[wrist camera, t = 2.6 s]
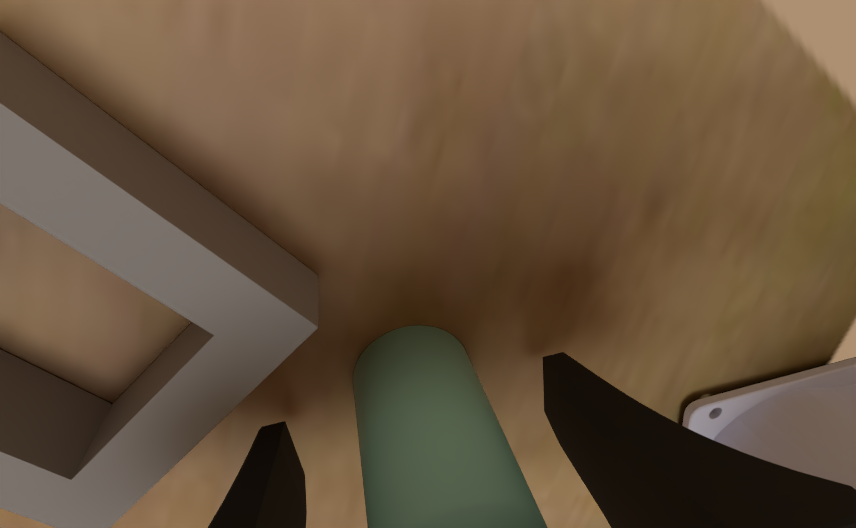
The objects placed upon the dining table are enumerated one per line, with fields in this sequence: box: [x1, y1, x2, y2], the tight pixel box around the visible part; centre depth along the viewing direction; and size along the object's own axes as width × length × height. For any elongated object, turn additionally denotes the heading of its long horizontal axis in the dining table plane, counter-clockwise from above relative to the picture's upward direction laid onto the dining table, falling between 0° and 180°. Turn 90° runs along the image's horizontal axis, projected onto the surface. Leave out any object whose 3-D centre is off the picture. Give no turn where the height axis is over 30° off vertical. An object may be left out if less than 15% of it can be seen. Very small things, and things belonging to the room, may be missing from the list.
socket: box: [0, 32, 318, 528], centre depth 11 cm, size 8×8×2 cm
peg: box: [353, 325, 547, 528], centre depth 12 cm, size 4×4×6 cm
